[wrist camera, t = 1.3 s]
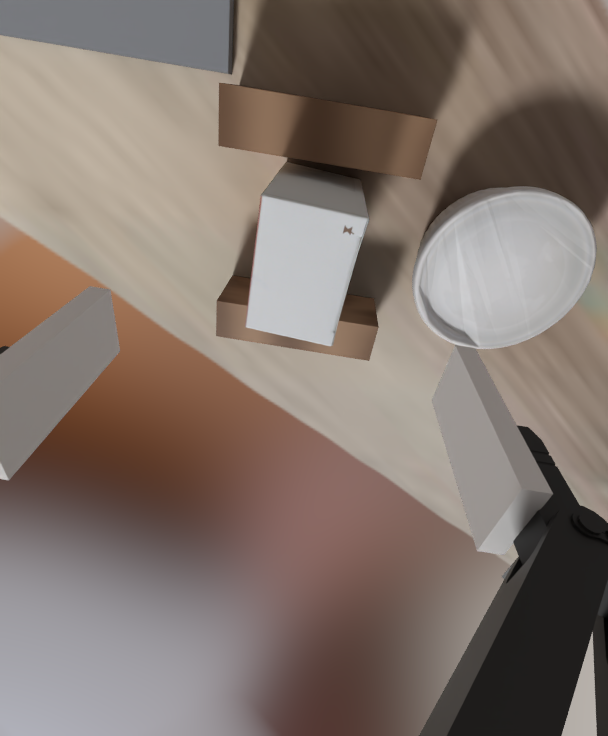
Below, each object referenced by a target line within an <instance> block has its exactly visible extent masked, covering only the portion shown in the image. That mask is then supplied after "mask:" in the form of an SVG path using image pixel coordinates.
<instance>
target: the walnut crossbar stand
mask: <svg viewBox="0 0 608 736" xmlns="http://www.w3.org/2000/svg"><path fill="white" fill-rule="evenodd" d="M436 123H437V120H435V119H431V118H427V117H422V116H417V115H411V114H405V113H399V112H393V111H387V110H381V109H376V108H370V107H364V106H358V105H352V104H346V103H340V102H334V101H329V100H323V99H317V98H311V97H305V96H299V95H293V94H287V93H282V92H276V91H270V90H264V89H258V88H252V87H246V86H241V85H233V84H225V83H219V146H223V147H229V148H235V149H241V150H247V151H253V152H259V153H265V154H271V155H277V156H283V157H289V158H295V159H300V160H306V161H312V162H318V163H324V164H330V165H336V166H342V167H348V168H354V169H360V170H366V171H372V172H378V173H384V174H390V175H396V176H402V177H407V178H413V179H419V180H420V179H421V176H422V172H423V169H424V165H425V162H426V158H427V155H428V151H429V148H430V144H431V141H432V137H433V134H434V130H435V127H436ZM250 281H251V278H245V277H239V276H233V275H232V277H231V279H230V280H229V282H228V284H227V285H226V287H225V288H224V290H223V292H222V293H221V295H220V296H219V298H218V300H217V325H216V336H220V337H226V338H232V339H238V340H244V341H250V342H257V343H263V344H269V345H275V346H281V347H287V348H294V349H300V350H306V351H312V352H318V353H325V354H331V355H337V356H343V357H349V358H355V359H362V360H368V361H369V359H370V355H371V352H372V348H373V345H374V341H375V338H376V334H377V331H378V321H377V315H376V308H375V302H374V299H373V298H367V297H361V296H355V295H349V294H346V297H345V300H344V304H343V307H342V311H341V314H340V318H339V322H338V326H337V330H336V334H335V339H334V343H333V345H332V346H326V345H322V344H318V343H313V342H309V341H304V340H300V339H296V338H291V337H287V336H282V335H278V334H273V333H269V332H264V331H260V330H255V329H251V328H247V327H245V322H246V313H247V305H248V297H249V289H250Z"/></svg>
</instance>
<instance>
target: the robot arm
mask: <svg viewBox="0 0 608 736" xmlns="http://www.w3.org/2000/svg"><path fill="white" fill-rule="evenodd" d="M119 352H120V348H119V341H118V335H117V329H116V322H115V316H114V310H113V304H112V298H111V291H110V290H109V289H103V288H97V287H91V286H90V287H88V288H87V289H86V290H84V291H83V292H82V293H81V294H79V295H78V296H76V297H75V298H74V299H73V300H71V301H70V302H69V303H67V304H66V305H65V306H63V307H62V308H61V309H60V310H58V311H57V312H56V313H54V314H53V315H52V316H50V317H49V318H48V319H46V320H45V321H44V322H42V323H41V324H40V325H38V326H37V327H36V328H34V329H33V330H32V331H31V332H29V333H28V334H27V335H25V336H24V337H23V338H21V339H20V340H19V341H17V342H16V343H15V344H14V345H12V346H11V347H6V346H3V347H1V348H0V479H4V480H9V479H10V478H11V477H12V476H13V475H14V474H15V472H16V471H17V470H18V469H19V468H20V467H21V465H22V464H23V463H24V462H25V461H26V460H27V459H28V457H29V456H30V455H31V454H32V453H33V451H34V450H35V449H36V448H37V447H38V445H40V443H41V442H42V441H43V440H44V439H45V438H46V436H47V435H48V434H49V433H50V432H51V431H52V430H53V428H54V427H55V426H56V425H57V424H58V423H59V421H60V420H61V419H62V418H63V417H64V416H65V414H66V413H67V412H68V411H69V410H70V409H71V407H72V406H73V405H74V404H75V403H76V401H78V399H79V398H80V397H81V396H82V395H83V394H84V392H85V391H86V390H87V389H88V388H89V387H90V385H91V384H92V383H93V382H94V381H95V379H96V378H97V377H98V376H99V375H100V374H101V373H102V371H103V370H104V369H105V368H106V367H107V366H108V365H109V363H110V362H111V361H112V360H113V359H114V358H115V356H116V355H117V354H118V353H119ZM432 403H433V406H434V409H435V413H436V416H437V419H438V423H439V426H440V429H441V433H442V436H443V439H444V443H445V446H446V449H447V453H448V456H449V459H450V463H451V466H452V469H453V473H454V476H455V479H456V483H457V486H458V489H459V493H460V496H461V499H462V503H463V506H464V509H465V512H466V516H467V519H468V522H469V526H470V529H471V532H472V536H473V539H474V542H475V546H476V549H477V551H481V552H488V553H494V554H501V555H504V554H505V553H506V552H507V550H508V549H509V548H510V547H511V545H512V544H513V543H514V545H515V547H516V550H517V553H518V555H519V557H518V558H517V559H516V560H515V562H514V563H513V564H512V565H511V566H510V568H509V569H508V570H507V571H506V572H505V573H504V575H503V576H502V577H503V578H504V581H503V583H502V585H501V587H500V589H499V590H498V592H497V594H496V596H495V598H494V600H493V601H492V603H491V605H490V607H489V609H488V610H487V612H486V614H485V616H484V618H483V620H482V621H481V623H480V625H479V627H478V629H477V631H476V633H475V634H474V636H473V638H472V640H471V642H470V643H469V645H468V647H467V649H466V651H465V653H464V655H463V656H462V658H461V660H460V662H459V664H458V666H457V667H456V669H455V671H454V673H453V675H452V677H451V678H450V680H449V682H448V684H447V686H446V687H445V690H444V691H443V693H442V695H441V697H440V699H439V700H438V702H437V704H436V706H435V708H434V709H433V711H432V713H431V715H430V717H429V719H428V720H427V722H426V724H425V726H424V728H423V730H422V731H421V733H420V735H419V736H561V735H562V731H563V728H564V725H565V721H566V718H567V715H568V711H569V708H570V705H571V701H572V698H573V694H574V691H575V688H576V684H577V681H578V678H579V674H580V671H581V668H582V664H583V661H584V657H585V654H586V651H587V648H588V644H589V641H590V637H591V634H592V631H593V647H594V673H595V695H596V696H595V697H596V720H597V736H608V523H607V522H606V521H605V520H604V519H603V518H602V517H600V516H599V515H598V514H596V513H595V512H594V511H592V510H590V509H588V508H586V507H584V506H580V505H579V503H578V502H577V500H576V498H575V497H574V495H573V493H572V492H571V490H570V488H569V486H568V485H567V483H566V481H565V480H564V478H563V476H562V474H561V473H560V471H559V469H558V468H557V467H556V466H555V462H554V461H553V459H552V457H551V456H549V452H548V450H547V449H546V447H545V445H544V444H543V442H542V440H541V439H540V438H539V437H538V436H537V435H536V434H535V433H534V432H533V431H532V430H531V429H529V428H528V427H523V426H517V425H516V423H515V422H514V420H513V418H512V416H511V414H510V412H509V410H508V408H507V407H506V405H505V403H504V401H503V399H502V397H501V395H500V394H499V392H498V390H497V388H496V386H495V384H494V382H493V380H492V379H491V377H490V375H489V373H488V371H487V369H486V367H485V365H484V364H483V362H482V360H481V358H480V356H479V354H478V352H477V351H476V349H475V348H472V347H465V346H459V345H455V347H454V349H453V352H452V354H451V356H450V359H449V361H448V363H447V366H446V368H445V370H444V373H443V375H442V377H441V380H440V382H439V384H438V387H437V389H436V391H435V394H434V396H433V398H432Z"/></svg>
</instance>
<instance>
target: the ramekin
mask: <svg viewBox="0 0 608 736" xmlns="http://www.w3.org/2000/svg"><path fill="white" fill-rule="evenodd" d="M596 249H597V248H596V239H595V235H594V231H593V228H592V225H591V223H590V221H589V220H588V219H587V217H586V216H585V214H584V213H583V211H582V210H581V209H580V208H579V207H578V206H576V205H575V204H574V203H573V202H571V201H570V200H568V199H567V198H565V197H563V196H561V195H559V194H557V193H555V192H552V191H549V190H546V189H542V188H537V187H528V186H517V187H507V188H502V187H499V188H488V189H485V190H479V191H476V192H474V193H471V194H468V195H466V196H465V197H463V198H460V199H458V200H457V201H456V202H454V203H453V204H451V205H449V206H448V207H447V208H446V209H445V210H443V211H442V212H441V213H440V215H439V216H437V217H436V218H435V220H434V221H433V223H432V224H431V225H430V227H429V229H428V230H427V231H426V232H425V235H424V238H423V239H422V240H421V243H420V247H419V249H418V255H417V258H416V262H415V265H414V270H413V277H412V289H413V296H414V300H415V304H416V307H417V310H418V312H419V314H420V316H421V318H422V319H423V321H424V322H425V324H426V325H427V326H428V327H429V328H430V329H431V330H432V331H433V332H434V333H436V334H437V335H438V336H440V337H441V338H443V339H444V340H446V341H448V342H451V343H453V344H455V345H459V346H465V347H472V348H475V349H493V348H502V347H506V346H510V345H514V344H517V343H520V342H523V341H525V340H528V339H530V338H532V337H534V336H536V335H538V334H540V333H542V332H543V331H545V330H547V329H548V328H549V327H551V326H552V325H554V324H555V323H556V322H558V321H559V320H560V319H561V318H562V317H564V316H565V315H566V314H567V313H568V312H569V311H570V309H571V308H572V307H573V306H574V305H575V304H576V302H577V301H578V300H579V298H580V297H581V295H582V294H583V292H584V291H585V289H586V287H587V285H588V283H589V282H590V280H591V276H592V273H593V269H594V266H595V261H596Z"/></svg>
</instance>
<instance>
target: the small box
mask: <svg viewBox="0 0 608 736" xmlns="http://www.w3.org/2000/svg"><path fill="white" fill-rule="evenodd" d="M368 222H369V216H368V212H367V207H366V202H365V197H364V193H363V188H362V184H361V180H360V179H356V178H351V177H347V176H343V175H339V174H335V173H331V172H326V171H322V170H318V169H314V168H310V167H306V166H302V165H297V164H293V163H289V162H286V163H285V164H284V165H283V167H282V168H281V169H280V170H279V172H278V173H277V175H276V176H275V177H274V179H273V180H272V181H271V183H270V184H269V185H268V187H267V188H266V189H265V190H264V192H263V193H262V194H261V199H260V207H259V216H258V224H257V232H256V240H255V248H254V256H253V264H252V272H251V281H250V289H249V297H248V305H247V313H246V322H245V327H247V328H251V329H255V330H260V331H264V332H269V333H273V334H278V335H282V336H287V337H291V338H296V339H300V340H304V341H309V342H313V343H318V344H322V345H326V346H332V345H333V343H334V339H335V334H336V330H337V326H338V322H339V318H340V314H341V311H342V307H343V304H344V300H345V297H346V293H347V290H348V286H349V282H350V279H351V276H352V272H353V269H354V265H355V262H356V258H357V255H358V252H359V249H360V246H361V243H362V239H363V236H364V233H365V231H366V227H367V225H368Z"/></svg>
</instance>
